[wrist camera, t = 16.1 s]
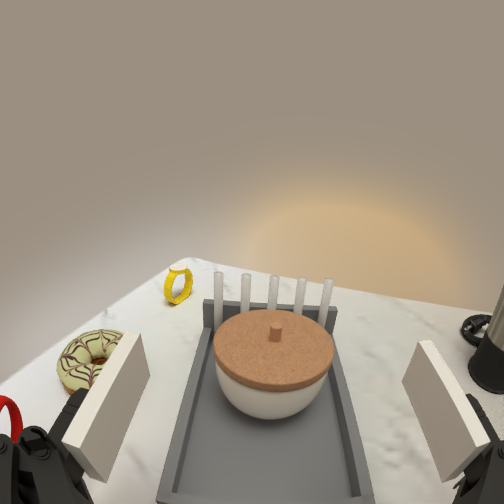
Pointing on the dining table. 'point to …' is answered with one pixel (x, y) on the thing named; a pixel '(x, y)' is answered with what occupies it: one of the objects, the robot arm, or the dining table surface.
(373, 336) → the dining table surface
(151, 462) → the dining table surface
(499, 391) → the milk frother
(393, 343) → the dining table surface
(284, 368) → the lidded jar
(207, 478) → the dish rack
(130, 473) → the dining table surface
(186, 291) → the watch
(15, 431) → the ceramic cup
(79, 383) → the decorated donut
